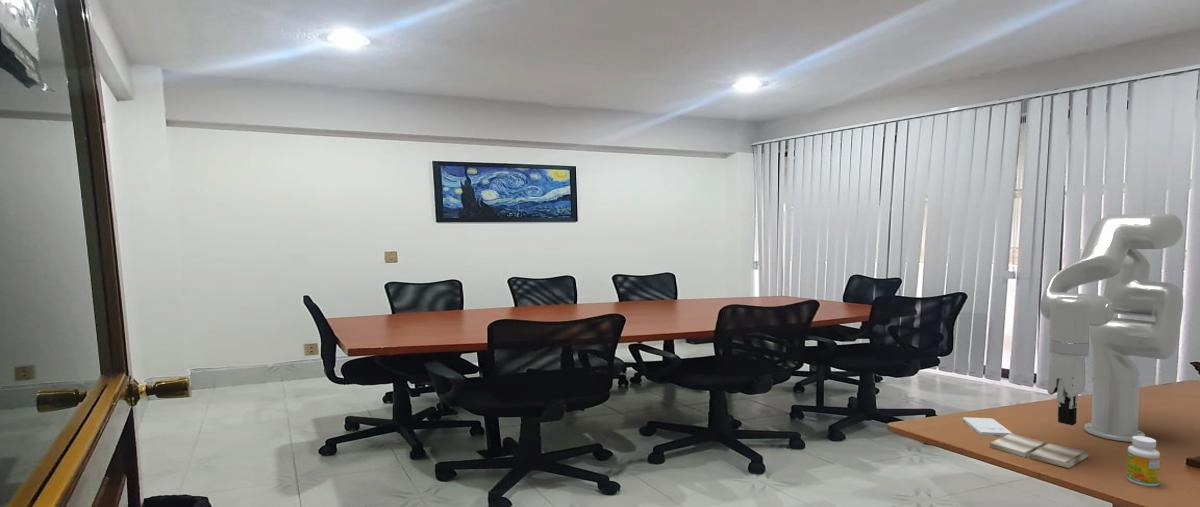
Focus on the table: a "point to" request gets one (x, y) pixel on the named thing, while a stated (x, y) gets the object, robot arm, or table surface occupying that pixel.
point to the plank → (1059, 455)
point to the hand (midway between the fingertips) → (1067, 423)
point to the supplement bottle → (1143, 461)
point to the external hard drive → (986, 426)
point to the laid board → (1017, 445)
